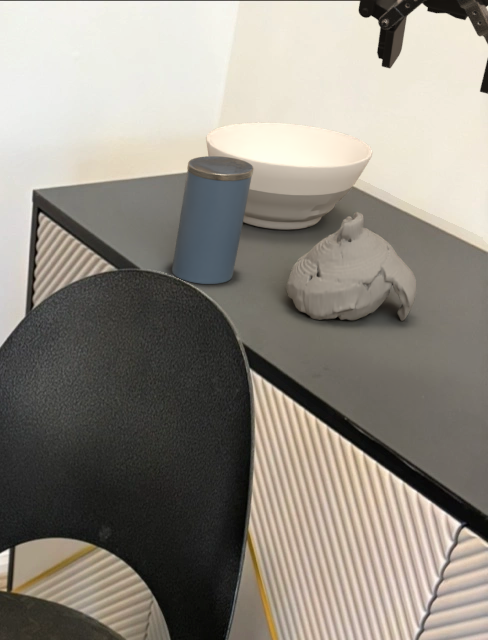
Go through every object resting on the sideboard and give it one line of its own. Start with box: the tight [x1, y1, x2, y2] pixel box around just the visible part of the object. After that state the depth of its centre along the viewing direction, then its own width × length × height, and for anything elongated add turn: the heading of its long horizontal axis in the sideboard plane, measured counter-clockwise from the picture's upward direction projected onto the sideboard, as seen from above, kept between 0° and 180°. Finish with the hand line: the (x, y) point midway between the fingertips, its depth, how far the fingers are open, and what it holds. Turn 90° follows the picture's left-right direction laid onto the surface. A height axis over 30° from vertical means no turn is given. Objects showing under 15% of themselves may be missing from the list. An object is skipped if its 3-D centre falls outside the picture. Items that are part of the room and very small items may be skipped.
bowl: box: [205, 121, 374, 231], centre depth 135 cm, size 19×19×8 cm
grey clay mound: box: [285, 211, 417, 322], centre depth 112 cm, size 12×12×11 cm
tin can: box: [171, 155, 254, 285], centre depth 118 cm, size 7×7×11 cm
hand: (439, 73), depth 93 cm, fingers open, 8 cm apart
